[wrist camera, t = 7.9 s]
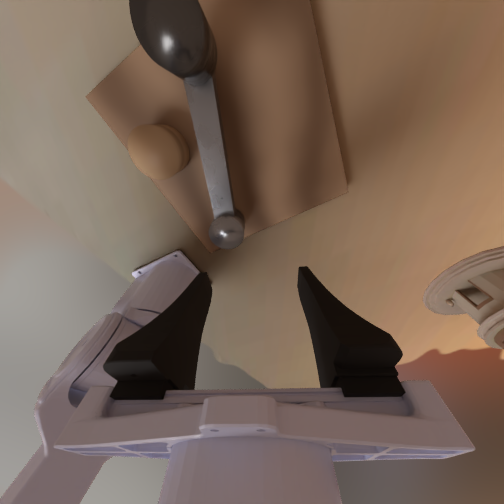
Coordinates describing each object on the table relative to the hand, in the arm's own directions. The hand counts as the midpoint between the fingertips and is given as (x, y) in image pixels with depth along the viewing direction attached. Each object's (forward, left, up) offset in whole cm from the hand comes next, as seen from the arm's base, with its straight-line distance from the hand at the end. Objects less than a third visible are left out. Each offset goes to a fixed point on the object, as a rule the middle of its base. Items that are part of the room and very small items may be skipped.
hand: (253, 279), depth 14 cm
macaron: (-4, +11, -9) cm, 15 cm away
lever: (0, +8, -9) cm, 12 cm away
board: (+2, +8, -10) cm, 13 cm away
